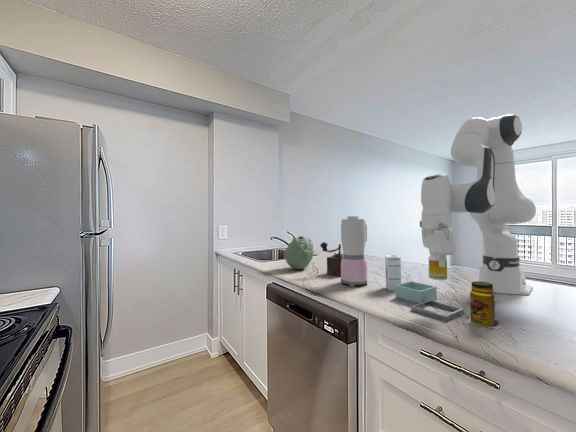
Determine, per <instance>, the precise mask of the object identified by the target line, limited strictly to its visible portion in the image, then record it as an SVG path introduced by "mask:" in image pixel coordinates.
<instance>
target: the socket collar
mask: <svg viewBox="0 0 576 432" xmlns="http://www.w3.org/2000/svg"><path fill="white" fill-rule="evenodd" d="M428 306H433V307H437V308H441V309H444V310H448V311H450V313H447V314H441V313H439V312H435V311H432V310H427V309H425V308H426V307H428ZM410 309H411V312H412V311H413V312H414V313H418V314H421V315H425V316H427V317H431V318H434V319H437V320H439V321H444V322H448V321H451V320H453V319H455V318H457V317H460V316H462V315H464V314H465V308H462V307H458V306H454V305H452V304H446V303H445V302H440V301H437V300H435V301H432V300H428V301H425V302H422V303H419V304H413V305H411V307H410ZM451 311H452V312H451Z"/></svg>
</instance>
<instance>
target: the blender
mask: <svg viewBox="0 0 576 432" xmlns="http://www.w3.org/2000/svg"><path fill="white" fill-rule="evenodd" d="M367 226H368V225H367V223H366V219H364V218H360V217H359V216H356V215H354V216H347V218H345V219H344V218H342V219H341V223H340V238H341V239H340V240H341V241H340V242H341V248H342V254H343V258H342V260H341V277H340V284H341V285H344V284H346V285H349V287H350V288H355V285H356V286H357V285H366V286H367V285H368V262H367V259H366V257H365V249H366V248H365V247H366V242H367V241H368V227H367Z"/></svg>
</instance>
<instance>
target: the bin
mask: <svg viewBox="0 0 576 432" xmlns="http://www.w3.org/2000/svg"><path fill="white" fill-rule="evenodd" d="M437 289H438V288H437V286H435V285H431V284H430V285H429V284H426V283H425V284H424V283H421V282H417V281H412V280H410V281H407V282H406V281H405V282H401V284H398V285H395V291H394V295H395V296H394V298H395V299H398V300H401V301H405V302H408V303H412V304H414V305H416V304H419V303H422V302H425V301H428V300H432V301H437V300H438V299H437V298H438V297H437V295H438V294H437V293H438V292H437V291H438V290H437Z"/></svg>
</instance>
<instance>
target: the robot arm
mask: <svg viewBox="0 0 576 432" xmlns="http://www.w3.org/2000/svg"><path fill="white" fill-rule="evenodd" d="M522 129H523V124H522V121H521V118H520V117H519V116H517V115H516V114H514V113H513V114H505V115H502V116H498V117H491V118H489V119H486V118H484V117H480V116H479V117H478V116H477V117H471V118H468V119H467V120H465V121H464V122H463V123H462V124H461V126H460V127H459V129H458V131H457V132H456V135H455V136H454V139H453V141H452V144H451V147H450V154H451V155H450V156H451V157H452V159H453V160H454V161H455V162H456V163H458V164H460V165H463V166H466V167H474V168H477V169H476V170H477V171H476V179H475V180H474V181H472V182H469V183H461V184H459V183H458V184H452V183H450V177H449V175H448V174H446V173H441V174H433V175H429V176H426V177H425V178H423V179H422V183H421V189H420V203H421V205H422V210H421V220H420V221H419V227H420V228H421V238H422V245H423V247H424V248H426V249H428V251H429V256H431V255H432V254H431V250H433V251H435V252H437V253H438V256H439V257H438V261H437V262H438V266H440V267H445V260H446V258H447V257H448V256H453V255H454V254H455V250H456V249H455V247H456V246H455V238H454V237H455V236H454V233H453V231H452V230H451V229H452V228H453V215H452V213H456V214H458V213H469V215H470V217H471V218H472V220H473V221H475V222H476V224H477V225H478V227H479V229H480V233H481V234H482V239H483V255H482V264H483V265H482V266H480V267H479V270H478V281H479V282H487V283H491V284H492V285H493V293H496V294H497V293H498V294H504V295H505V294H506V295H523V296H524V295H527V296H530V295H531V292H532V290H533V285H532V284H528V283H526V274H525V272H524V271H523V270H522V269H521V267H520V262H521V257H519V256H518V239H517V238H516V236H515V235H513V234H512V232H510V231H509V230H508V227H507V225H519V224H524V223H529V222H531V221H532V220H533V219H534V218H535V216H536V211H537V207H536V205H535V204H534V202H533V201H532V200H531V199H530V198H528V197H526V195H524V194H523V192H522V191H521V190H520V187H519V186H518V185H519V184H518V182H517V178H516V169H515V167H516V166H515V158H514V157H515V155H514V151H513V147H512V146H513V145H514V143H515V142H516V141H518V140H519V138H520V136H521V134H522Z"/></svg>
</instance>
